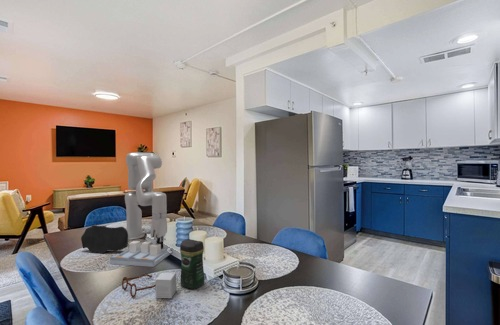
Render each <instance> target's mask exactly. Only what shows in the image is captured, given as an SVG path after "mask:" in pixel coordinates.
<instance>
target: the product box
mask: <svg viewBox="0 0 500 325" xmlns="http://www.w3.org/2000/svg"><path fill="white" fill-rule="evenodd" d="M155 284H156V286H155V299H156V298H171V299H172V298H173V297H174V295H175V293H176V291H177V273H176V272H161V273H160V274H159V275H158V276H157V277H156V279H155Z"/></svg>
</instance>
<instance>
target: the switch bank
mask: <svg viewBox="0 0 500 325" xmlns="http://www.w3.org/2000/svg"><path fill="white" fill-rule="evenodd" d="M164 249H166V250H164ZM170 255H171V254H169V252H168V251H167V248H163V249H161V253H160V254H158V255H157V256H150V252H148V253H141V249H140V250H139V251H137V252H135V253H134V252H130V249H129V248H128V249H126V250H125V251H122V252H120V253H119V254H117V255H114V256H113V255H112V256H110V257H109V263H110V265H121V266H122V265H123V266H136V267H149V268H153V267H155V266H157V265H158V264H159V263H161V262H163V260H165V259H166V258H168V256H170Z"/></svg>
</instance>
